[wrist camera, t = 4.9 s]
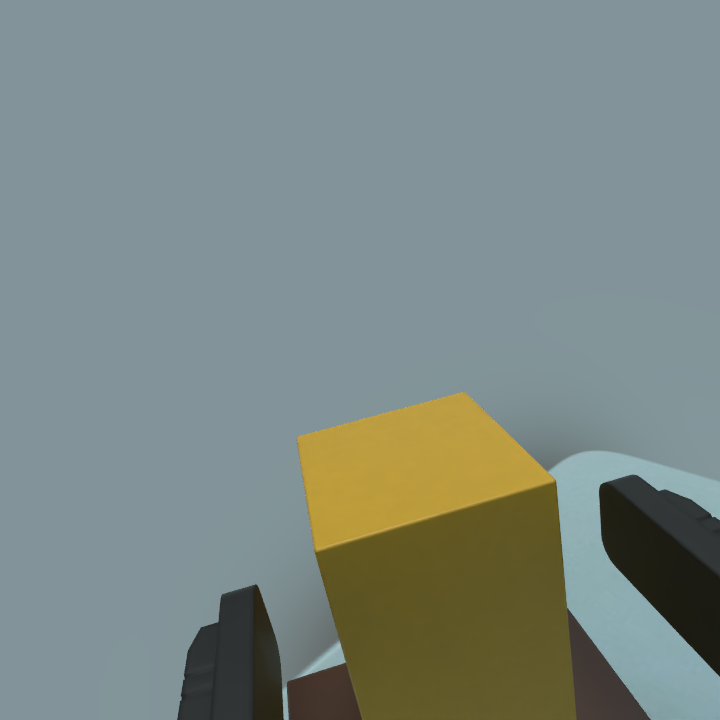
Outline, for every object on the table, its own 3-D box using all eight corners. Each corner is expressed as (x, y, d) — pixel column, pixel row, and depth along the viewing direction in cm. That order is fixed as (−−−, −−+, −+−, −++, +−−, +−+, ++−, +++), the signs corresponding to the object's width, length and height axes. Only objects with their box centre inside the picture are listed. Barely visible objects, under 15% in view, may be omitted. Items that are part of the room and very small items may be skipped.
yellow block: (396, 843, 13) (314, 551, 10) (360, 670, 18) (295, 436, 15) (582, 775, 14) (557, 480, 11) (499, 625, 18) (465, 390, 15)
